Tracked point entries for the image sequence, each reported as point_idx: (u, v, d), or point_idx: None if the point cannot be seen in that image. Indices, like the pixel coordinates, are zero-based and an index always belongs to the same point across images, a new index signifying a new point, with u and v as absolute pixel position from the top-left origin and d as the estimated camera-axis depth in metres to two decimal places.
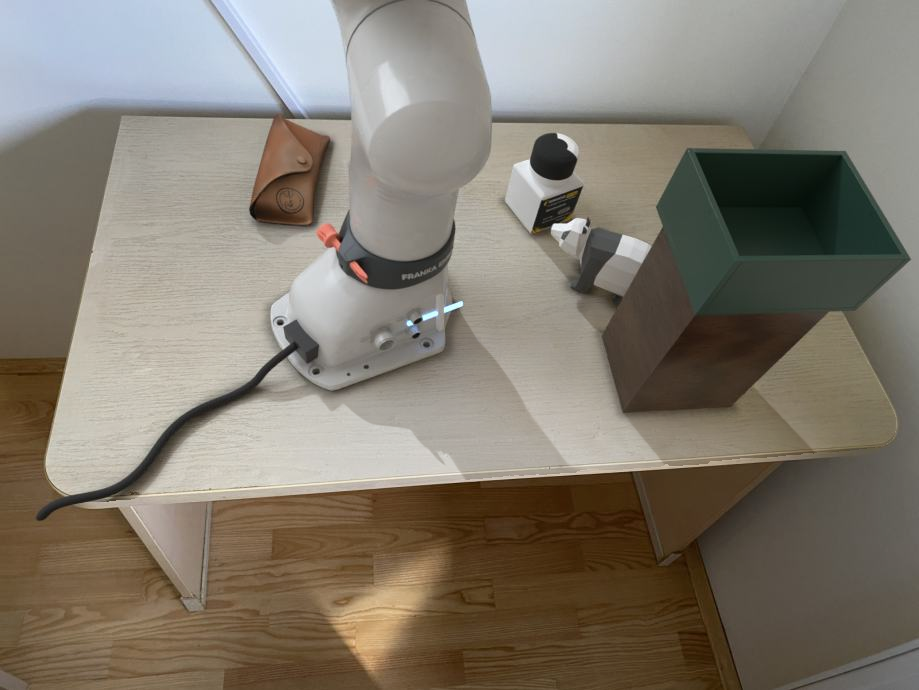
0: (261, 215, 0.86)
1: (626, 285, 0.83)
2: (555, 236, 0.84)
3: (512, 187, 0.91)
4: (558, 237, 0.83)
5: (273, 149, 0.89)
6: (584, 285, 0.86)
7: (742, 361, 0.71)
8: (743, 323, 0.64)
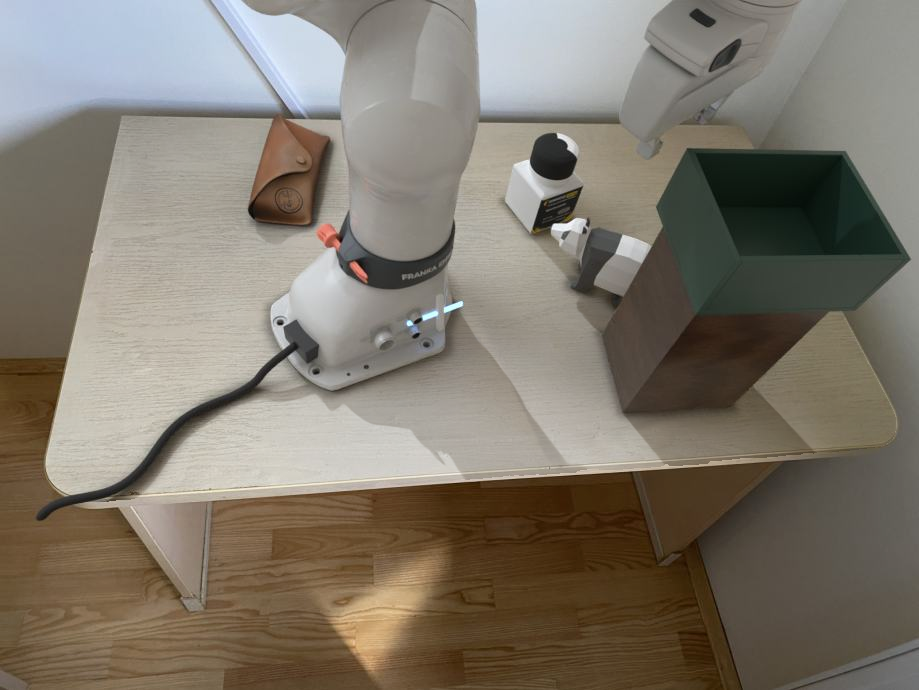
0: (260, 215, 0.86)
1: (626, 285, 0.83)
2: (555, 236, 0.84)
3: (512, 187, 0.91)
4: (558, 237, 0.83)
5: (273, 149, 0.89)
6: (584, 285, 0.86)
7: (742, 361, 0.71)
8: (743, 323, 0.64)
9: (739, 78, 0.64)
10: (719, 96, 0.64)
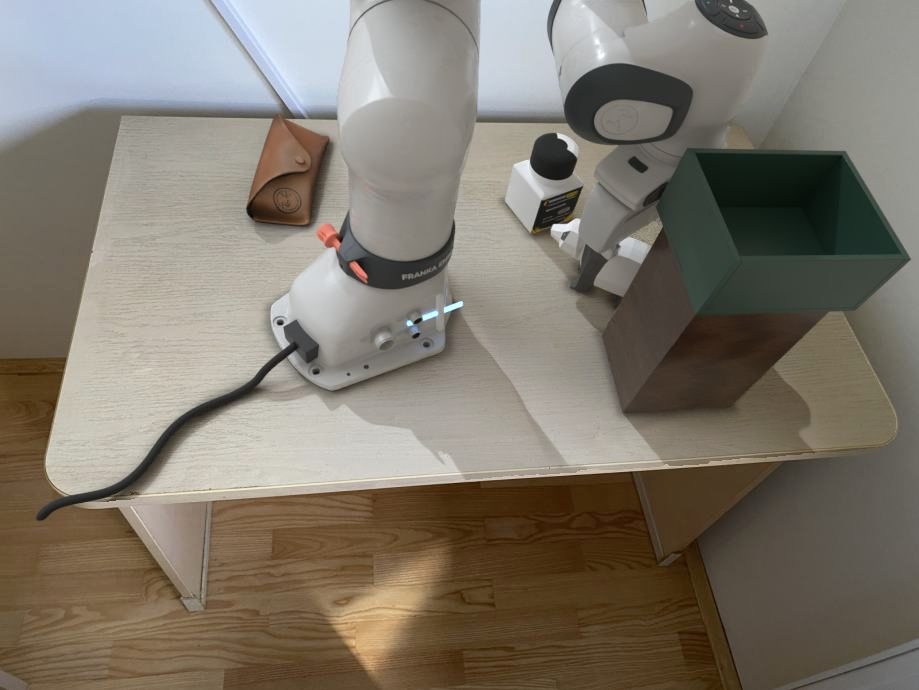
0: (258, 215, 0.86)
1: (626, 286, 0.83)
2: (555, 237, 0.84)
3: (512, 187, 0.91)
4: (558, 238, 0.83)
5: (272, 149, 0.89)
6: (583, 286, 0.86)
7: (742, 361, 0.71)
8: (743, 323, 0.64)
9: None
10: None
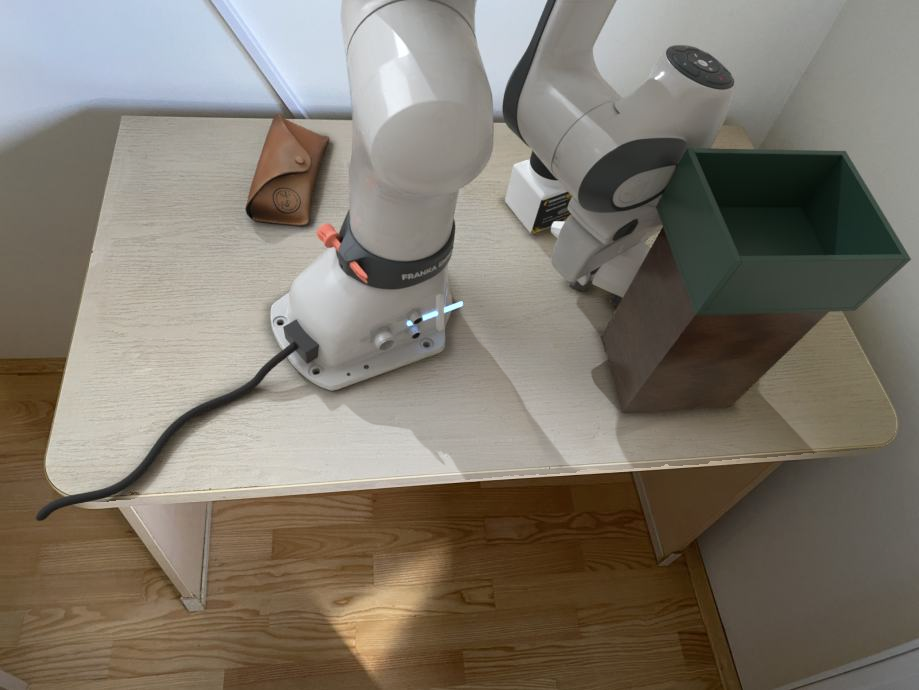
0: (258, 214, 0.86)
1: (624, 285, 0.83)
2: (555, 234, 0.84)
3: (512, 187, 0.91)
4: None
5: (271, 148, 0.89)
6: None
7: (742, 361, 0.71)
8: (743, 323, 0.64)
9: (653, 229, 0.81)
10: (636, 243, 0.81)
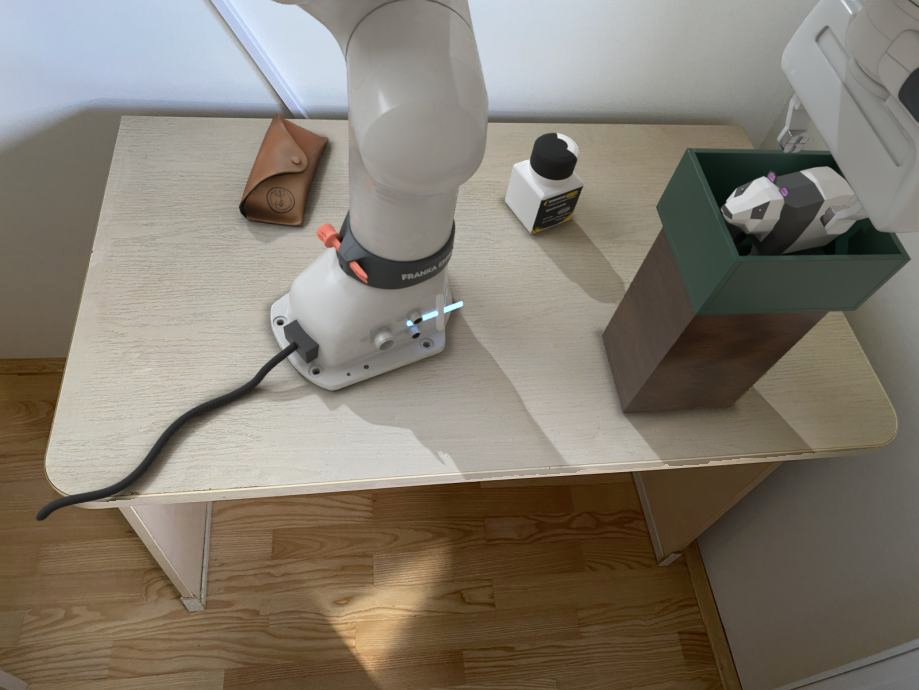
0: (251, 213, 0.86)
1: None
2: (739, 220, 0.55)
3: (512, 187, 0.91)
4: (745, 219, 0.55)
5: (268, 148, 0.89)
6: None
7: (742, 361, 0.71)
8: (743, 323, 0.64)
9: None
10: None
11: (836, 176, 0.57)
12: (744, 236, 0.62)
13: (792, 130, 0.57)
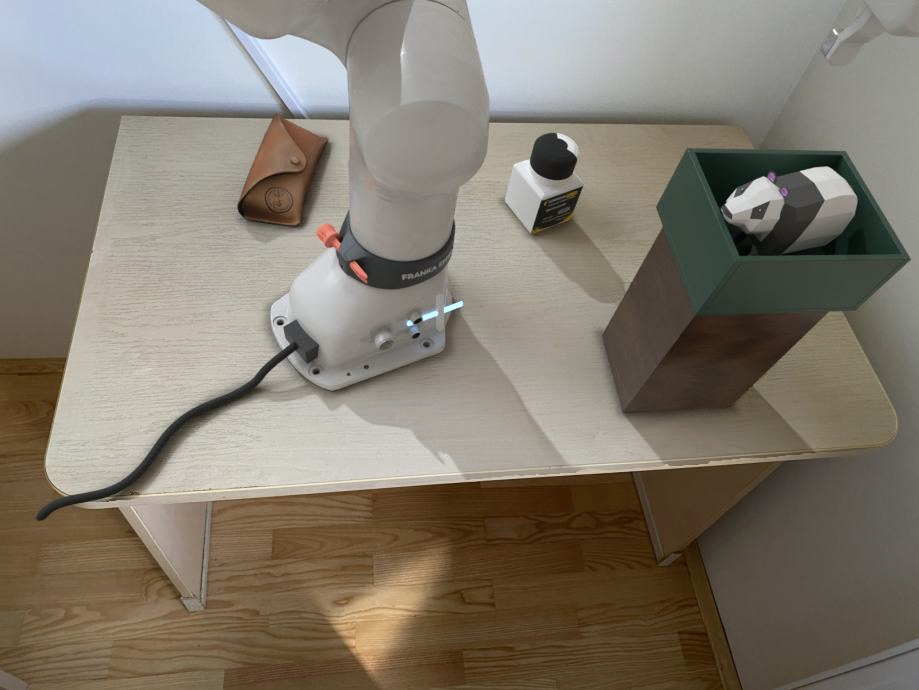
0: (249, 213, 0.86)
1: (828, 232, 0.59)
2: (739, 220, 0.55)
3: (512, 187, 0.91)
4: (745, 219, 0.55)
5: (267, 148, 0.89)
6: None
7: (742, 361, 0.71)
8: (743, 323, 0.64)
9: None
10: None
11: (836, 176, 0.57)
12: (744, 236, 0.62)
13: None
